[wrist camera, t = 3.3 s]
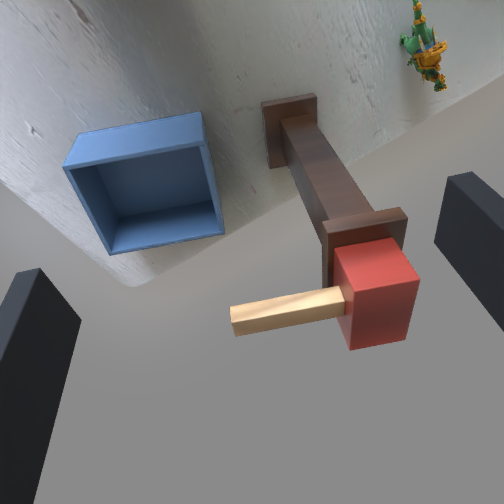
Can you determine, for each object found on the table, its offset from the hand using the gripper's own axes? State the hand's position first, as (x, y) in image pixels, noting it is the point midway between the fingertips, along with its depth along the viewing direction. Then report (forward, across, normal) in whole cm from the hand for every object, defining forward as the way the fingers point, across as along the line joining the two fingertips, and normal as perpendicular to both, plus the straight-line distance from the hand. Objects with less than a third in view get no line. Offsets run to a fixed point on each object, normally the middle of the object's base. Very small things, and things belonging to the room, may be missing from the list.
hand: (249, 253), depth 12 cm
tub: (+39, -11, -16) cm, 44 cm away
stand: (+39, +8, -15) cm, 43 cm away
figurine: (+40, +24, -6) cm, 47 cm away
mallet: (+11, +4, -14) cm, 18 cm away
